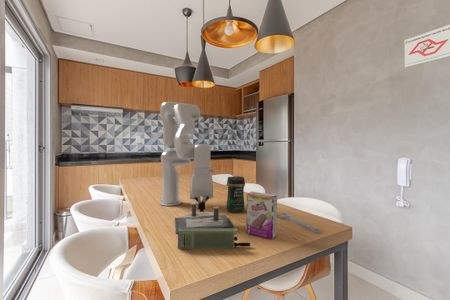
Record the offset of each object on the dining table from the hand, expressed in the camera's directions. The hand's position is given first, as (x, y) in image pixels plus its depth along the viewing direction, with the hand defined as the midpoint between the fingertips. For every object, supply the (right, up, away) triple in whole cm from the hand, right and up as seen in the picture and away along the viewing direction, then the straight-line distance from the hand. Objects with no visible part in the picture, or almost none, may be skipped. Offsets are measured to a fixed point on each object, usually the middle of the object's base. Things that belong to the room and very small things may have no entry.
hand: (201, 210), depth 102 cm
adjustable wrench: (+44, -6, 0) cm, 44 cm away
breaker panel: (+1, -5, -4) cm, 6 cm away
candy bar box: (+25, -6, -14) cm, 29 cm away
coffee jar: (+16, -5, +18) cm, 25 cm away
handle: (+7, -3, -7) cm, 10 cm away
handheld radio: (+7, -6, -25) cm, 27 cm away
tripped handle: (-3, -2, -1) cm, 4 cm away
